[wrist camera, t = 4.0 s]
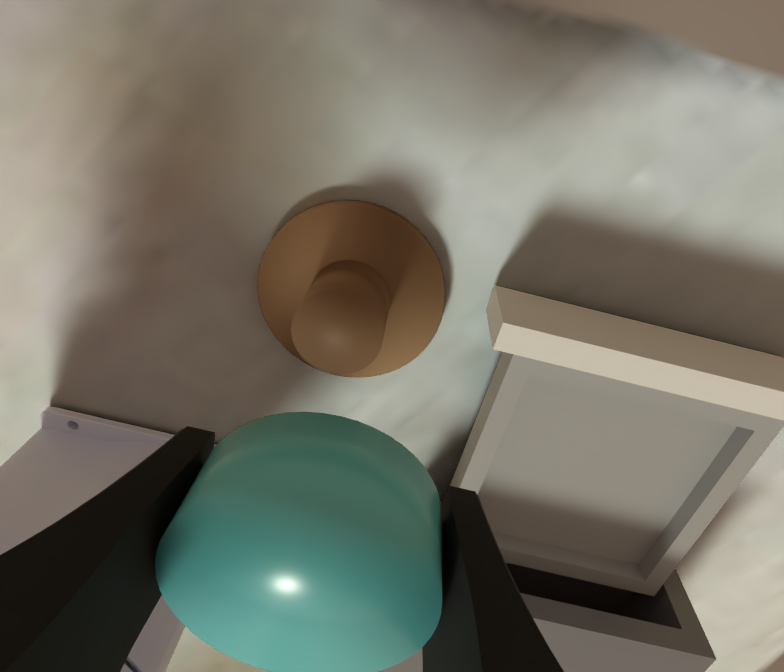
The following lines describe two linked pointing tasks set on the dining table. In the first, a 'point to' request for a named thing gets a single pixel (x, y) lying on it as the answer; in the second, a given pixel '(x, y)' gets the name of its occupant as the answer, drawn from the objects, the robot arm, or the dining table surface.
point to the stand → (351, 288)
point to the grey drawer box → (608, 625)
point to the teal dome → (307, 547)
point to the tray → (611, 438)
